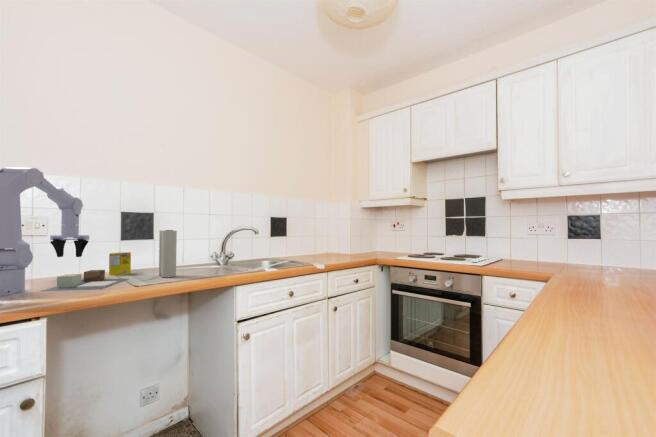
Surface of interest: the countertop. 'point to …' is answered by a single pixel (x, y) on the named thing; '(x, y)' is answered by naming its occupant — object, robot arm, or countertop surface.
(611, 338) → the countertop surface
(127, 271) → the supplement box
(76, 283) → the sage block
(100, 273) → the walnut block
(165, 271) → the tall grey block
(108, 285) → the board
